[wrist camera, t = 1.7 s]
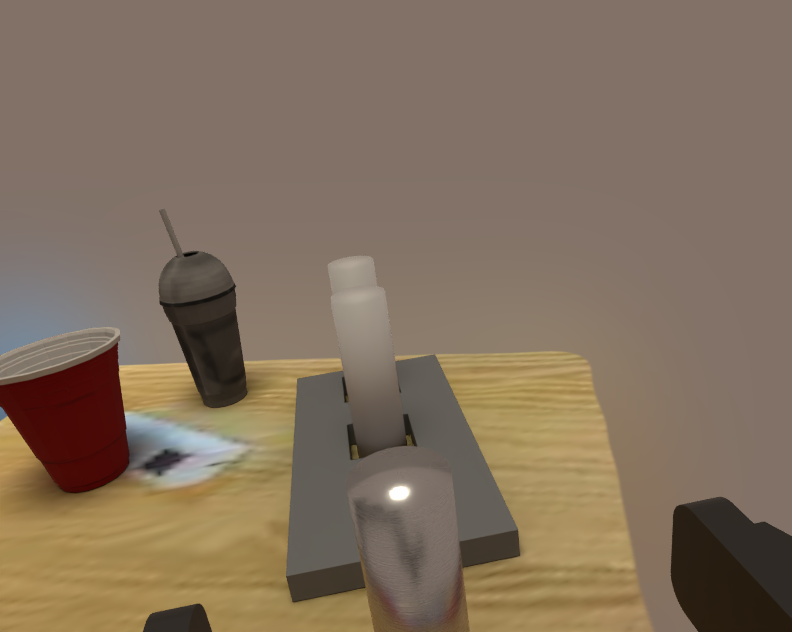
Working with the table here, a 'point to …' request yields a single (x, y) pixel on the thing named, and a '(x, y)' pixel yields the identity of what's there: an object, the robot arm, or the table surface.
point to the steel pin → (408, 540)
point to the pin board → (377, 442)
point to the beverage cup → (204, 322)
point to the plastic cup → (69, 405)
